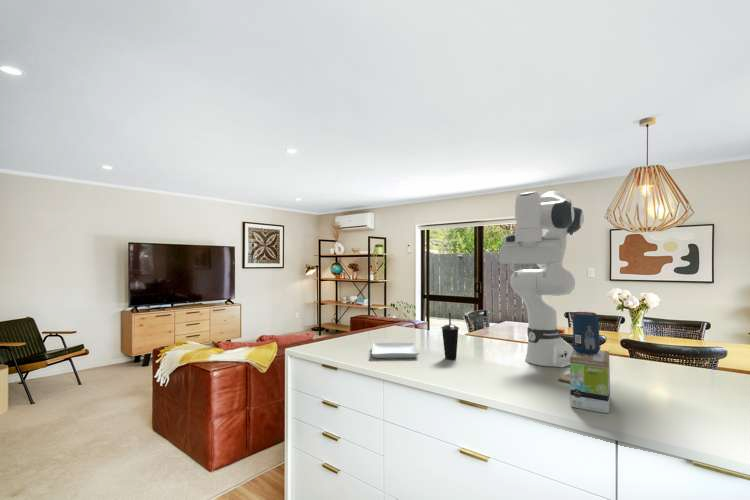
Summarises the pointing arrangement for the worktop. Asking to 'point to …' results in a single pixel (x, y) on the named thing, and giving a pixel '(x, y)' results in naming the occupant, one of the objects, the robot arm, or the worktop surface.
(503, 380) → the worktop surface
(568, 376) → the walnut coaster
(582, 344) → the soda can
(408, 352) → the salad plate
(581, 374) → the tea box
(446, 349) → the drinking cup
